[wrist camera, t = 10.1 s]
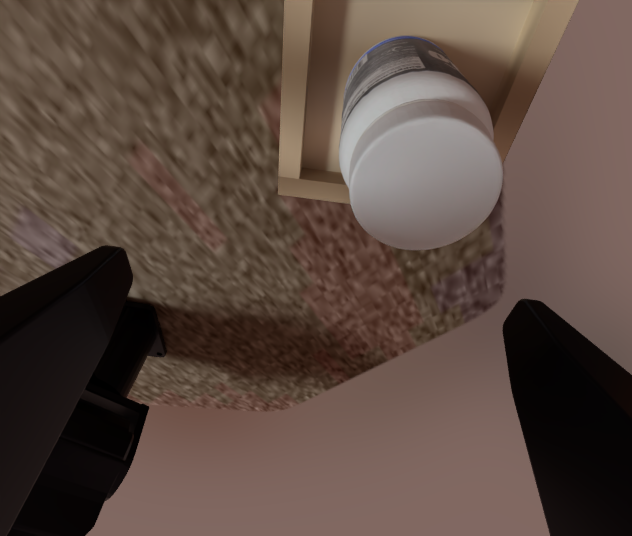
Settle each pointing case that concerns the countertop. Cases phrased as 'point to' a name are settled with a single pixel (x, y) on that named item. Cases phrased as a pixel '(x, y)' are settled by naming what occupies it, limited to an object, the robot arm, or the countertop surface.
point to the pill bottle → (416, 146)
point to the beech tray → (389, 21)
